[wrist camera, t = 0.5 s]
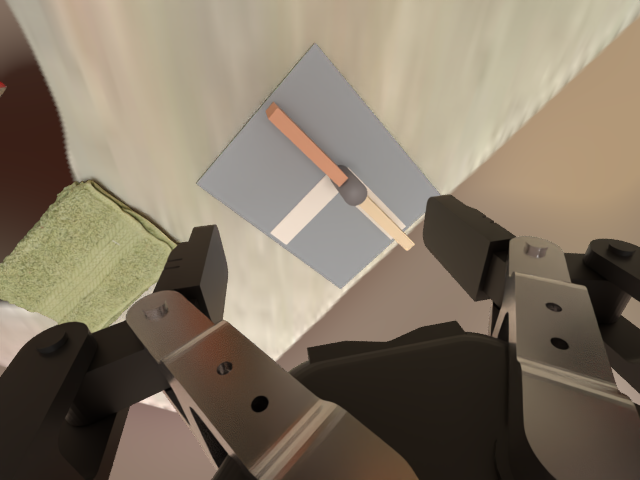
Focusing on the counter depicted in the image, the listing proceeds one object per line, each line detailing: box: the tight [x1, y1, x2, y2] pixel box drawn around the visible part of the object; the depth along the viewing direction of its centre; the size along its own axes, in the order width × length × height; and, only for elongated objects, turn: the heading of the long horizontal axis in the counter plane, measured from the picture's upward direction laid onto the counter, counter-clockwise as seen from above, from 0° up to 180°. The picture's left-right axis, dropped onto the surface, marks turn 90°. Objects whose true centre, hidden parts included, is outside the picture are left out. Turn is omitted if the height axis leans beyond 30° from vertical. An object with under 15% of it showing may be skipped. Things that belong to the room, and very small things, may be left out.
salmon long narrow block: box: [265, 102, 348, 187], centre depth 30 cm, size 9×1×5 cm, turn 45°
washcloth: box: [0, 180, 177, 333], centre depth 34 cm, size 13×18×3 cm
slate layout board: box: [196, 43, 441, 289], centre depth 34 cm, size 18×23×6 cm
